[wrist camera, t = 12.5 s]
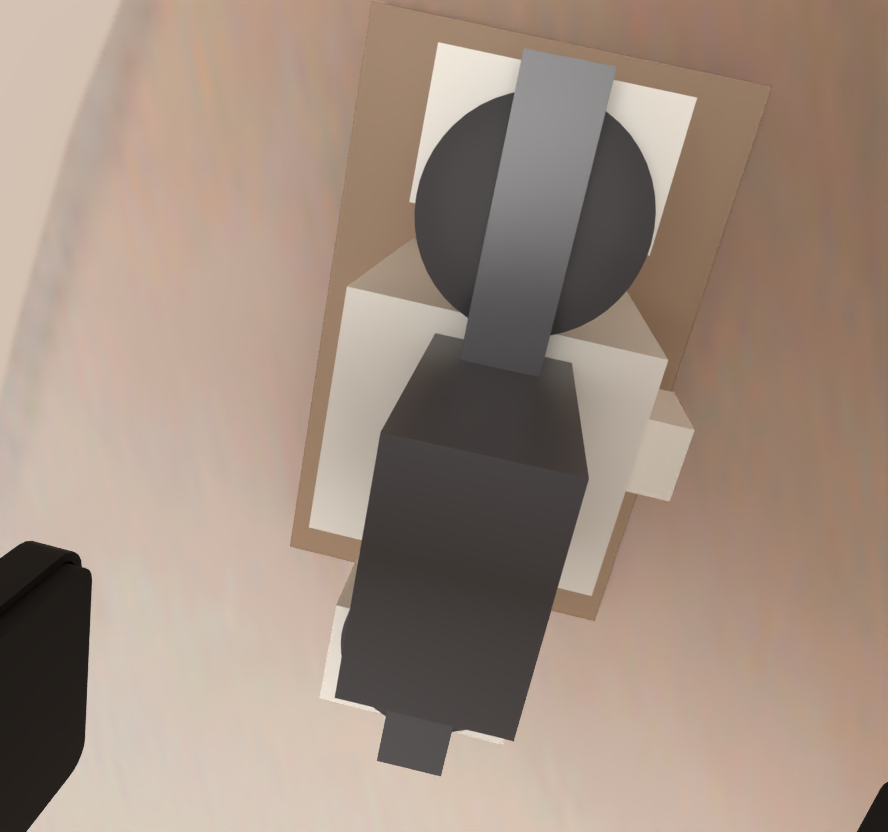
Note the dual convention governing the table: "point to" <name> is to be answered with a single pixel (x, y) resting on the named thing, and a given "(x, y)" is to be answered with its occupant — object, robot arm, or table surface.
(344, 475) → the boxes on tan tray
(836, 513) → the table surface
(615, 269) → the grey bar with discs
